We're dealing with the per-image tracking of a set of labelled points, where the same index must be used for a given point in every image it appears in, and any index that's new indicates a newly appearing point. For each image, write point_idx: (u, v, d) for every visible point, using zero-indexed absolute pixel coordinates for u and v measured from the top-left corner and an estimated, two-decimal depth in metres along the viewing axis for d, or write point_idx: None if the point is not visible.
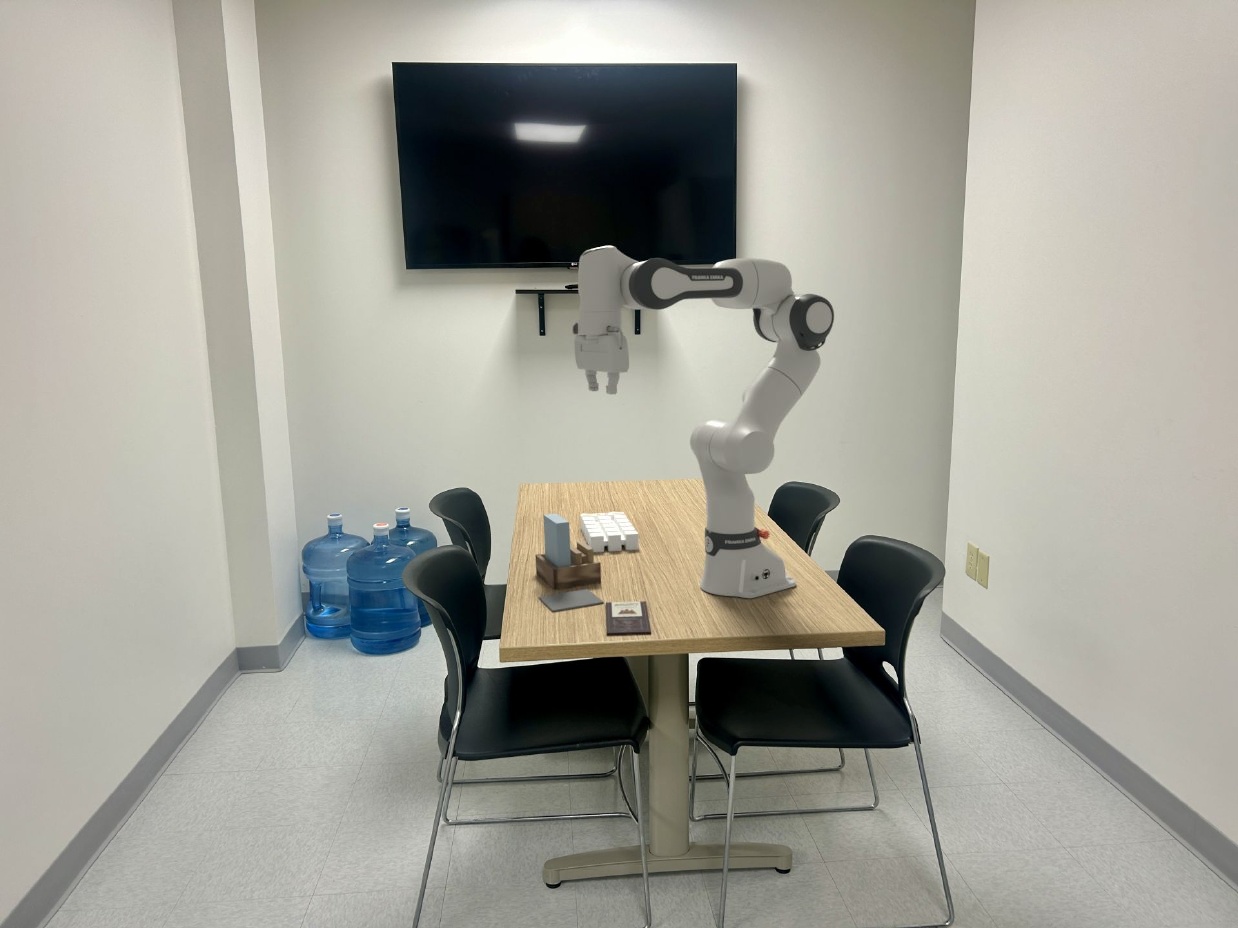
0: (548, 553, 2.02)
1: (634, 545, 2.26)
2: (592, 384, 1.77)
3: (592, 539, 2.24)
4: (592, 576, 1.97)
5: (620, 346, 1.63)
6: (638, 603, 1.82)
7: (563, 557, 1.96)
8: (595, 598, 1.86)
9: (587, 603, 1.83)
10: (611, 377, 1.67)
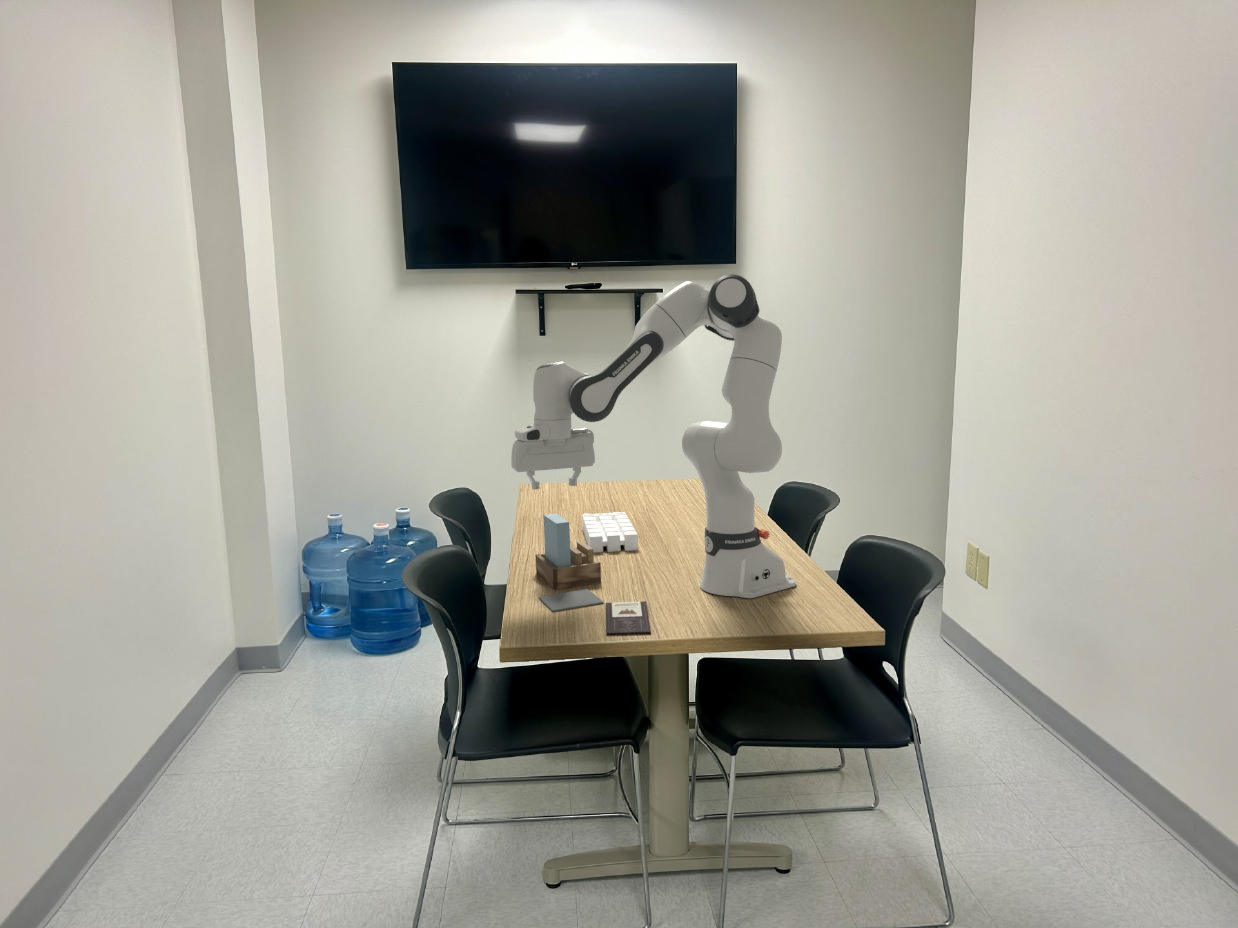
0: (548, 553, 2.02)
1: (633, 545, 2.26)
2: None
3: (591, 539, 2.24)
4: (592, 576, 1.97)
5: None
6: (638, 603, 1.82)
7: (563, 557, 1.96)
8: (595, 598, 1.86)
9: (587, 603, 1.83)
10: None
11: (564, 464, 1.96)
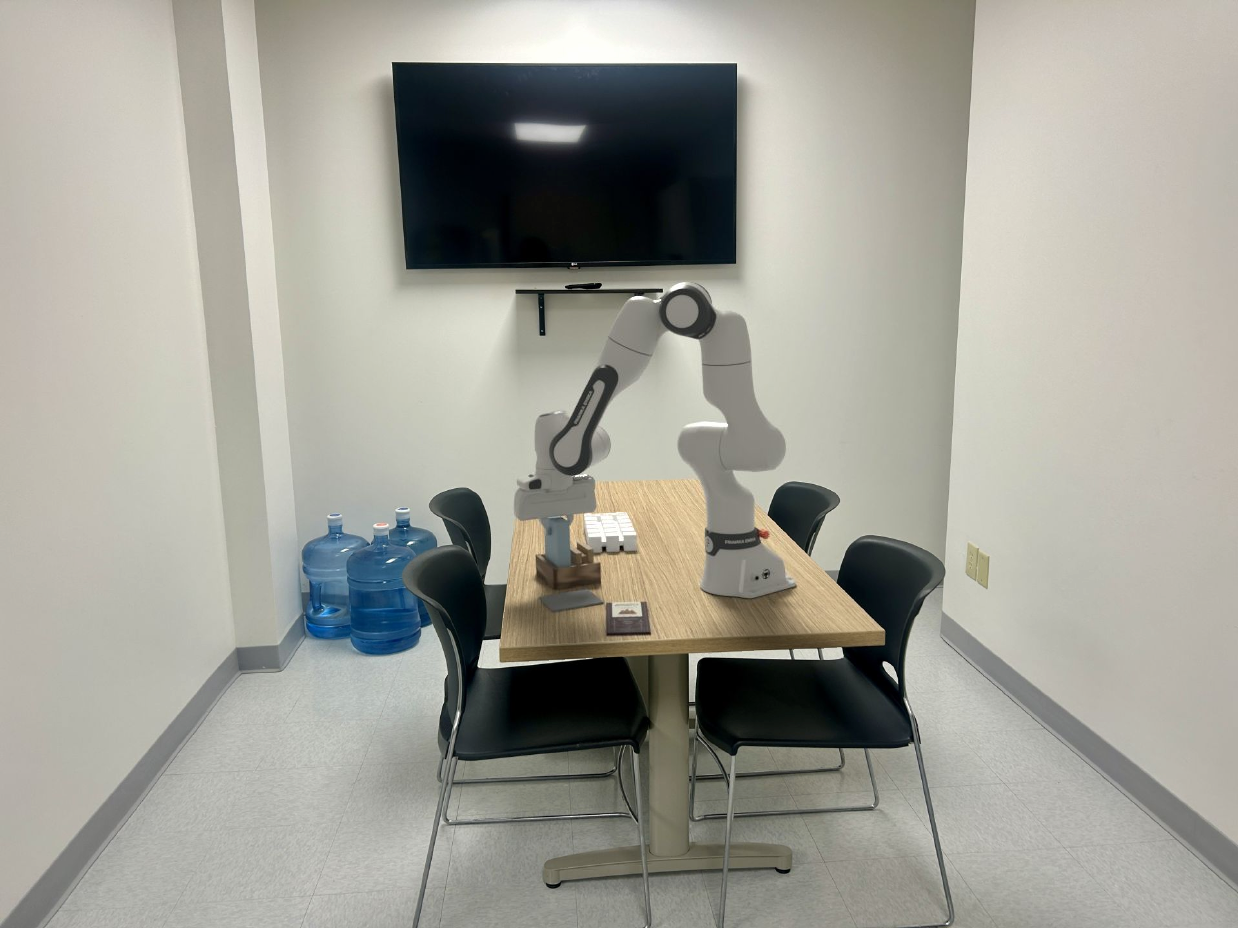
0: (548, 553, 2.02)
1: (632, 546, 2.25)
2: None
3: (590, 539, 2.24)
4: (592, 576, 1.97)
5: None
6: (639, 603, 1.82)
7: (563, 557, 1.96)
8: (595, 598, 1.86)
9: (587, 603, 1.83)
10: None
11: (566, 511, 1.98)
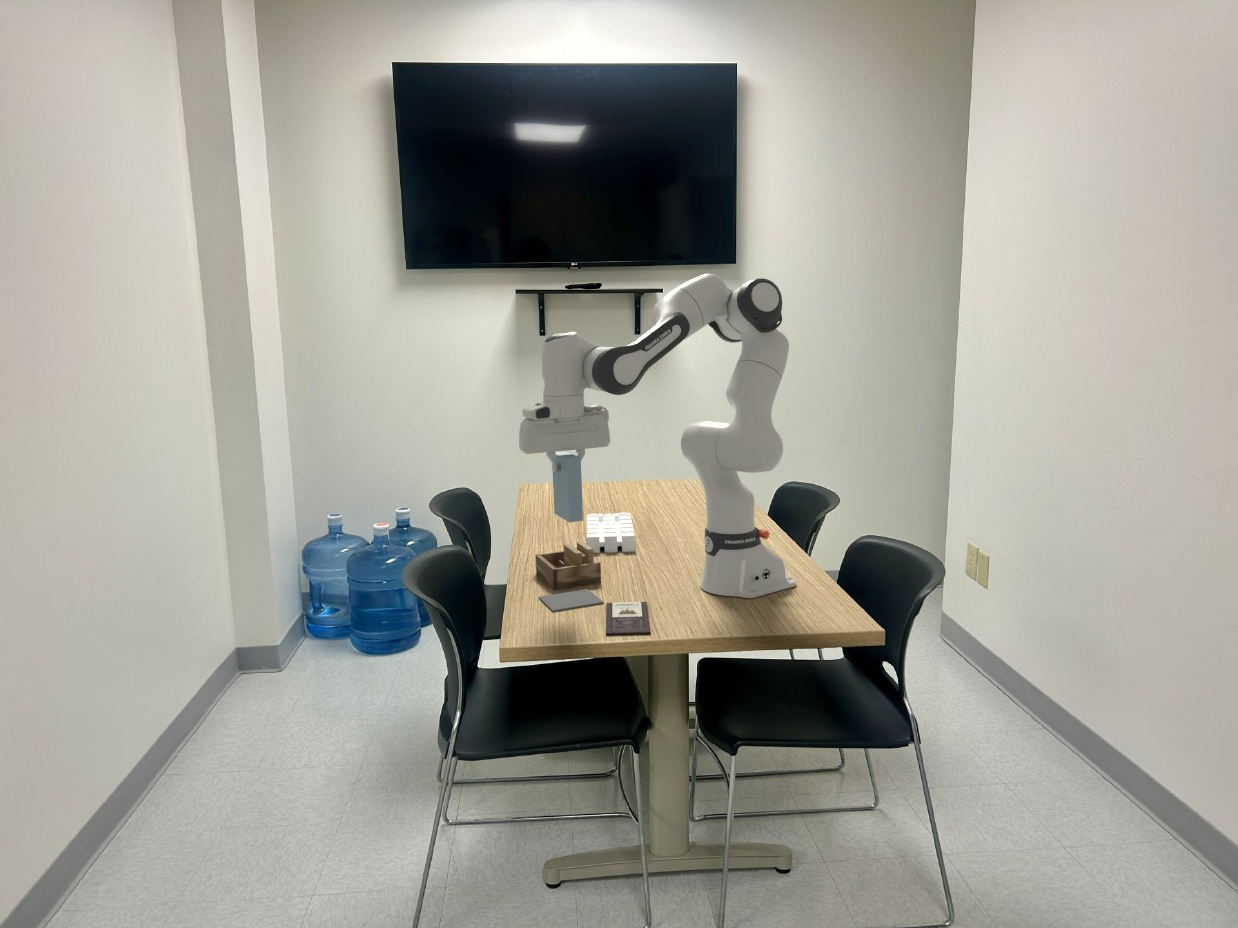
0: (558, 494, 1.83)
1: (630, 547, 2.24)
2: None
3: (588, 540, 2.24)
4: (592, 576, 1.97)
5: (607, 422, 1.83)
6: (639, 603, 1.82)
7: (574, 496, 1.77)
8: (595, 598, 1.86)
9: (587, 603, 1.83)
10: None
11: (577, 445, 1.79)
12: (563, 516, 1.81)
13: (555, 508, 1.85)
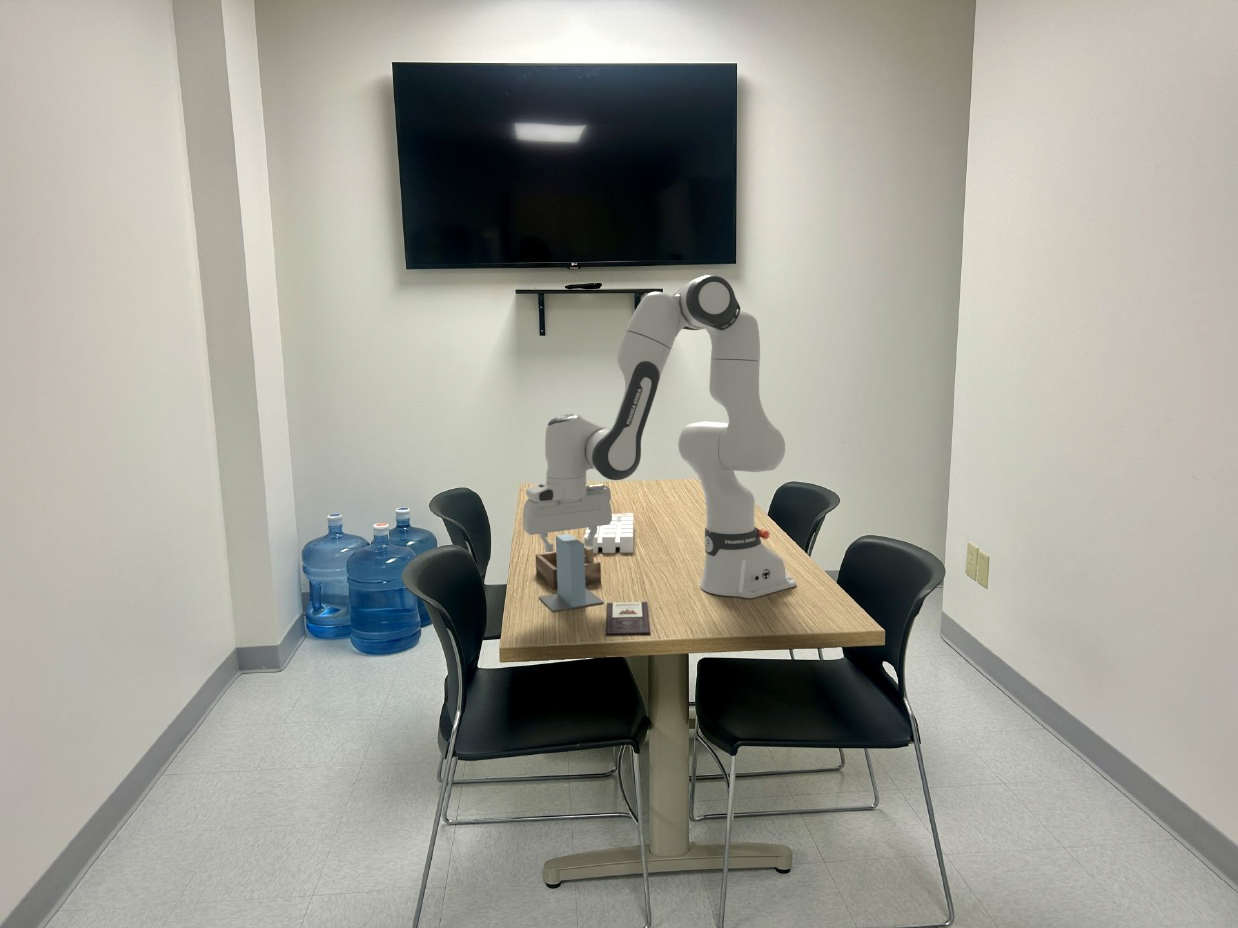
0: (561, 577, 1.86)
1: (628, 548, 2.23)
2: None
3: None
4: (592, 576, 1.97)
5: (609, 500, 1.86)
6: (639, 603, 1.82)
7: (578, 582, 1.80)
8: (595, 598, 1.86)
9: (587, 603, 1.83)
10: None
11: (579, 524, 1.82)
12: (566, 599, 1.84)
13: (559, 589, 1.89)
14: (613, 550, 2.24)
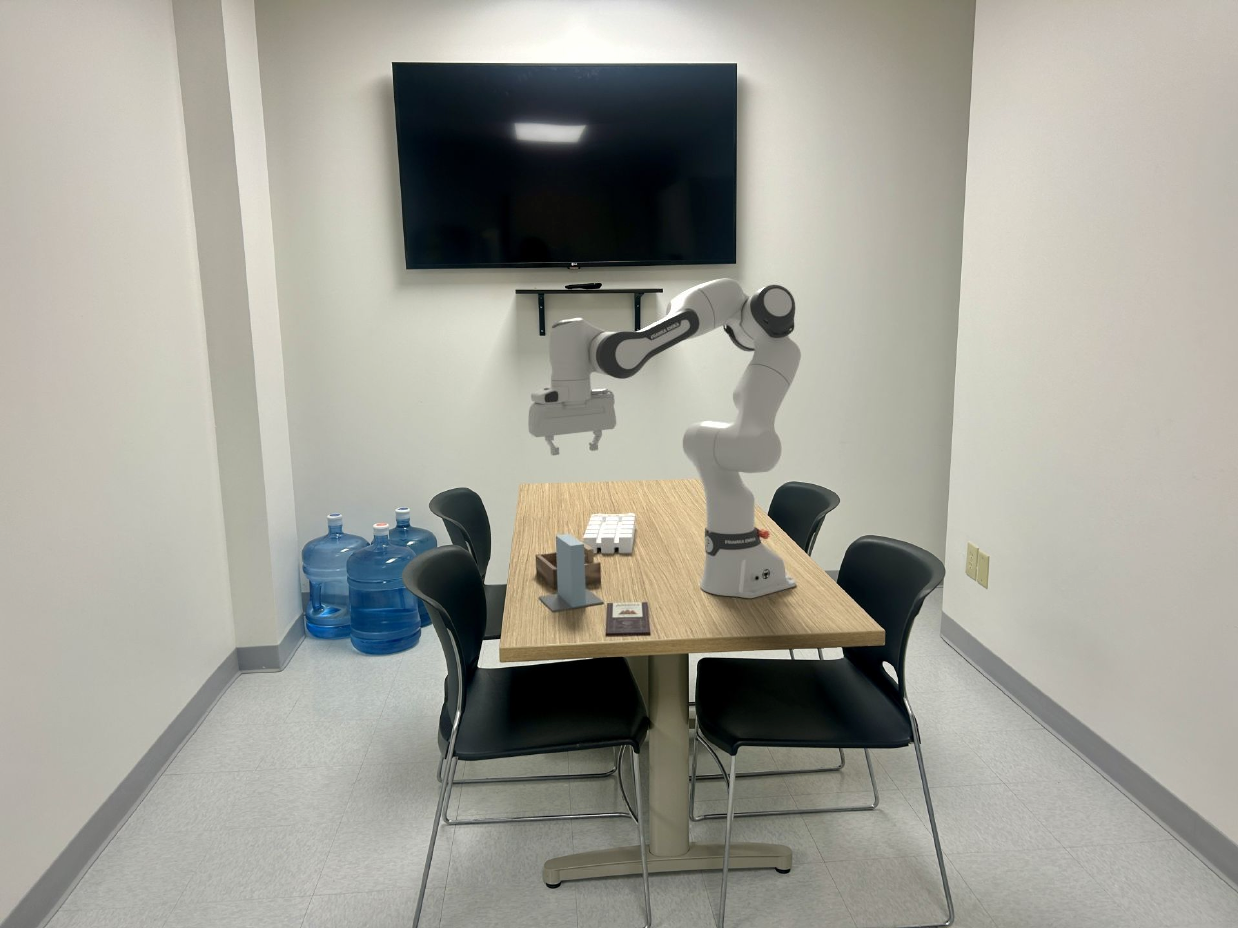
0: (561, 577, 1.86)
1: (627, 548, 2.23)
2: None
3: (584, 540, 2.23)
4: (592, 576, 1.97)
5: None
6: (640, 603, 1.82)
7: (578, 582, 1.80)
8: (595, 598, 1.86)
9: (587, 603, 1.83)
10: None
11: (584, 427, 1.85)
12: (566, 599, 1.84)
13: (559, 589, 1.89)
14: (612, 550, 2.23)
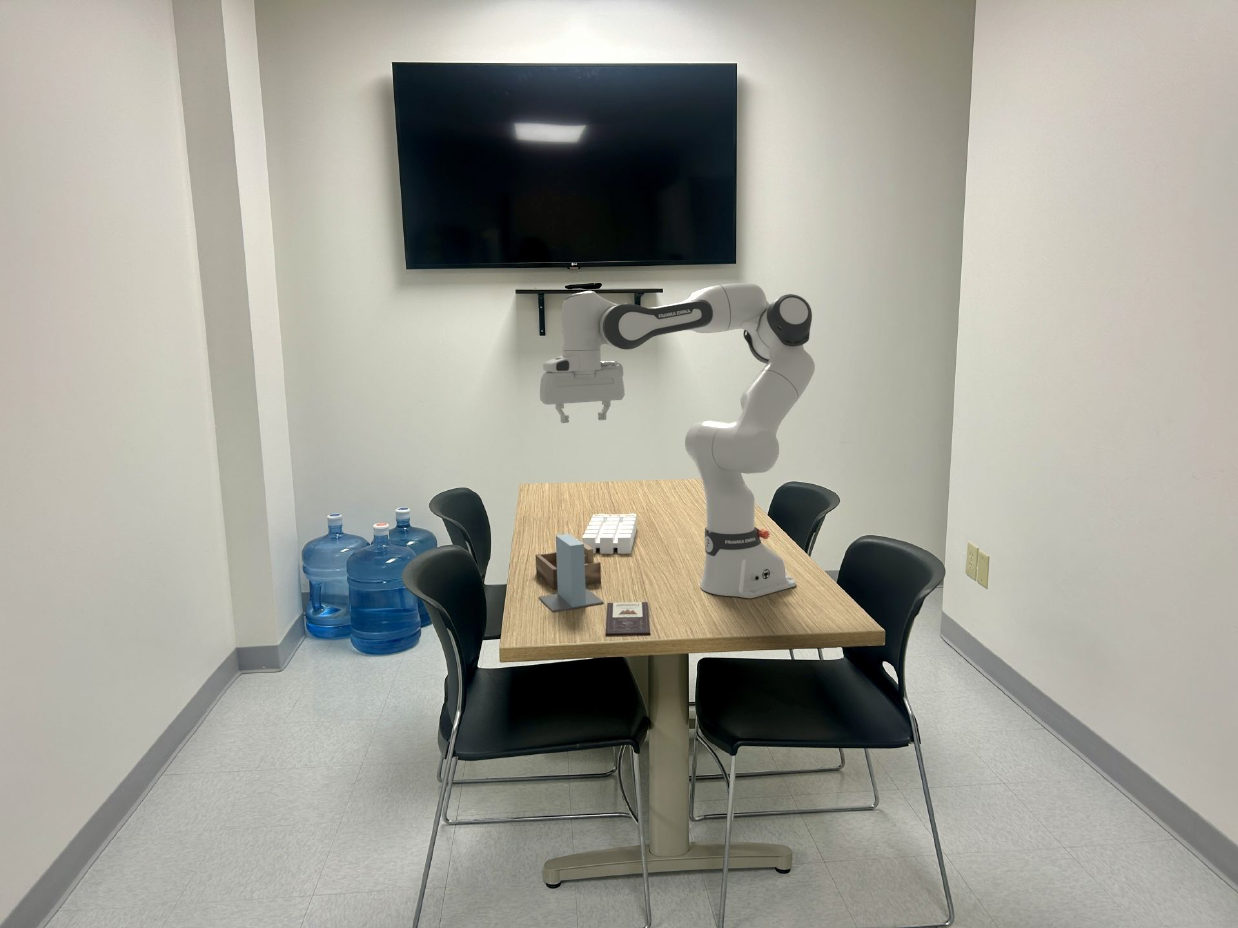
0: (561, 577, 1.86)
1: (626, 549, 2.23)
2: None
3: (583, 540, 2.23)
4: (592, 576, 1.97)
5: None
6: (640, 603, 1.82)
7: (578, 582, 1.80)
8: (595, 598, 1.86)
9: (587, 603, 1.83)
10: None
11: (594, 397, 1.92)
12: (566, 599, 1.84)
13: (559, 589, 1.89)
14: (611, 551, 2.23)
